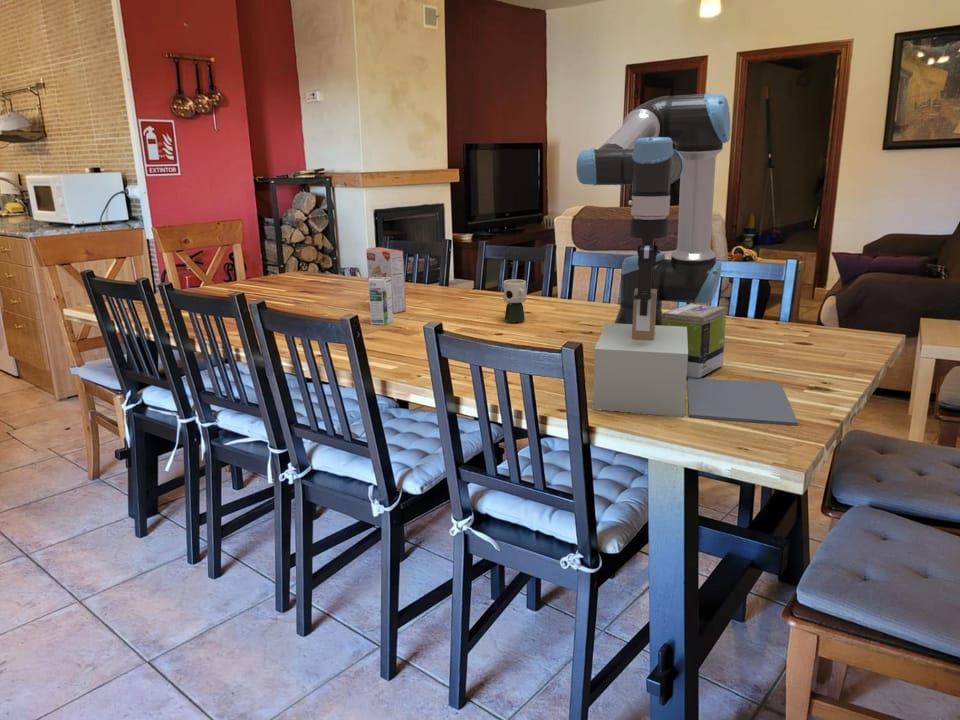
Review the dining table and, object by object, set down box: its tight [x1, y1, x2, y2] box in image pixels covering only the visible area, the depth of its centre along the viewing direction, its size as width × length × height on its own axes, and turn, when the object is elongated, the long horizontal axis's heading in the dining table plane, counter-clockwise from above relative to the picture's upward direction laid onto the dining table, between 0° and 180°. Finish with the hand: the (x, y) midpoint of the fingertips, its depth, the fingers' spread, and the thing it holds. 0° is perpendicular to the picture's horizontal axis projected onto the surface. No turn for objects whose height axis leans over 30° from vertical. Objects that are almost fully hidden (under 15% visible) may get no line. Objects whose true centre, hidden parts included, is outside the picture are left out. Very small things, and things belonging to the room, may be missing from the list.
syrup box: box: [367, 277, 394, 326], centre depth 220 cm, size 6×6×14 cm
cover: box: [592, 288, 688, 418], centre depth 149 cm, size 23×18×23 cm
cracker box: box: [365, 246, 407, 315], centre depth 238 cm, size 14×6×21 cm, turn 42°
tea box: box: [662, 303, 727, 378], centre depth 166 cm, size 15×10×15 cm, turn 141°
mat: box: [687, 377, 799, 427], centre depth 147 cm, size 25×20×1 cm
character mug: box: [502, 279, 527, 324], centre depth 219 cm, size 11×7×13 cm, turn 26°
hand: (643, 324), depth 147 cm, fingers open, 10 cm apart
